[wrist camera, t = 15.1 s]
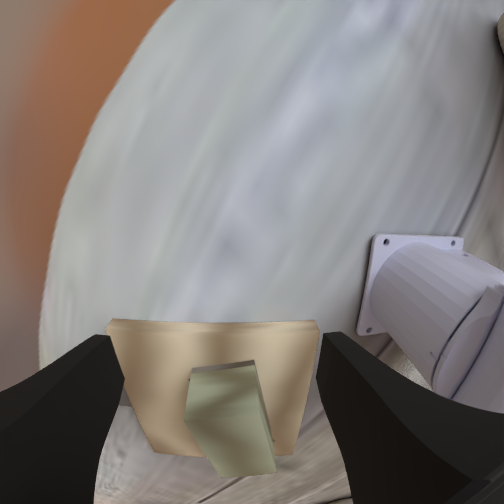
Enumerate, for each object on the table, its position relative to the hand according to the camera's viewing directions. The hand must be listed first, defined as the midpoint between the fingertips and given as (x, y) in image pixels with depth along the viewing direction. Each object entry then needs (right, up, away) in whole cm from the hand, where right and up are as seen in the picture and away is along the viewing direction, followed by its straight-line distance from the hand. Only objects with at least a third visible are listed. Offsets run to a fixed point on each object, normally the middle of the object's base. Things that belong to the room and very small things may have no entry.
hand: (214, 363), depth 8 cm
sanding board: (-2, -9, +13) cm, 16 cm away
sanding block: (0, -8, +11) cm, 14 cm away
